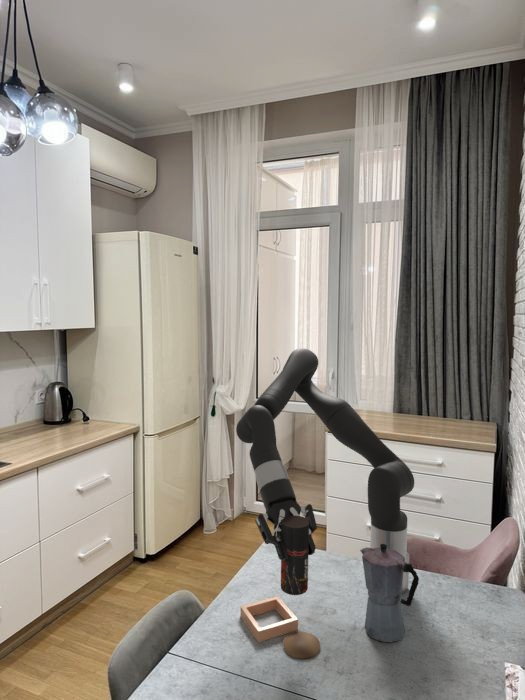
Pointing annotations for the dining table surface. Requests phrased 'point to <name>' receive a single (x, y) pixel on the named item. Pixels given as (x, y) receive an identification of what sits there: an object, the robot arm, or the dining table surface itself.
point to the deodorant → (295, 555)
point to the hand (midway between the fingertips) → (298, 557)
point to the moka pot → (386, 592)
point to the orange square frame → (273, 629)
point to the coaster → (301, 645)
